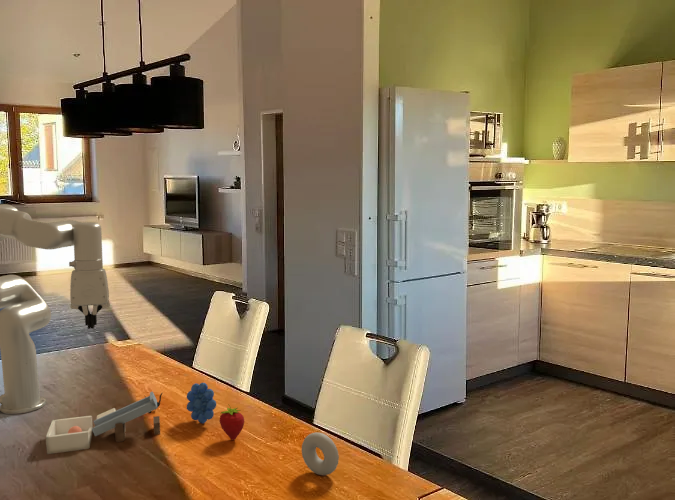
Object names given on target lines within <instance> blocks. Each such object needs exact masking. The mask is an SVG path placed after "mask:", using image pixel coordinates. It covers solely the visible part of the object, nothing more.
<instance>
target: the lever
mask: <svg viewBox="0 0 675 500" xmlns="http://www.w3.org/2000/svg"><path fill="white" fill-rule="evenodd" d="M157 402H158V400H157V398H156V396H155V394H154V391H150V392H149V395H148V396H145V397H144V398H142V399H139V400H137V401H135V402H132V403H130V404H128V405H126V406H124V407H122V408H119V409H116V408H115V407H113V408H110V409H108V410H107V411H104V412H102V413H99V414H98V415H96V419H94V420H92V423H93V424H94V426H93V428H92V431H93V433H92V434H93V435H94V437H98V436H100V435H102V434H103V433H106V432H108V431H110V430H113V429H115V424H117V423H123V424H124V423H125V424H126V423H128V422H130V421H133V420H134V419H137V418H139V417H142V416H144V415H146V414H148V413H149V412H150V411H151V412H152V411H156V410H157V409H158V408H157ZM155 409H156V410H155Z"/></svg>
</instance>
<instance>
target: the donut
mask: <svg viewBox="0 0 675 500" xmlns="http://www.w3.org/2000/svg"><path fill="white" fill-rule="evenodd" d="M317 449H320V451H321V452H322V454H323V459H321V458H320V457H319V456H318V453H317ZM301 455H302V458H303V461H304V464H305V465H306V466H307V468H308V469H309V470H310V471H311V472H312V473H314V474H316V475H319V476H329V475H331V474H332V473H334V471H336V469H337V467H338V464H339V459H340V458H339V457H340V455H339V451H338V448H337V446H336V444H335V442H334V440H333V439H332V438H330V437H329V436H328V435H327V434H325V433H323V432H319V431H317V432H312V433H309V434H308V435H307V436H306V437H305V438H304V439H303V442H302V444H301Z"/></svg>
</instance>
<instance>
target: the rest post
mask: <svg viewBox="0 0 675 500" xmlns="http://www.w3.org/2000/svg"><path fill="white" fill-rule="evenodd" d="M152 419H153V435H154V436H155V435H161V420H160V416H159V415H156V416H153V418H152Z"/></svg>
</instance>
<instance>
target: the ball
mask: <svg viewBox="0 0 675 500" xmlns="http://www.w3.org/2000/svg"><path fill="white" fill-rule="evenodd" d="M77 432H82V429H81V428H80V427H78V426H73V427H71V428H70V429H69V431H68V434H69V433H77Z"/></svg>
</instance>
